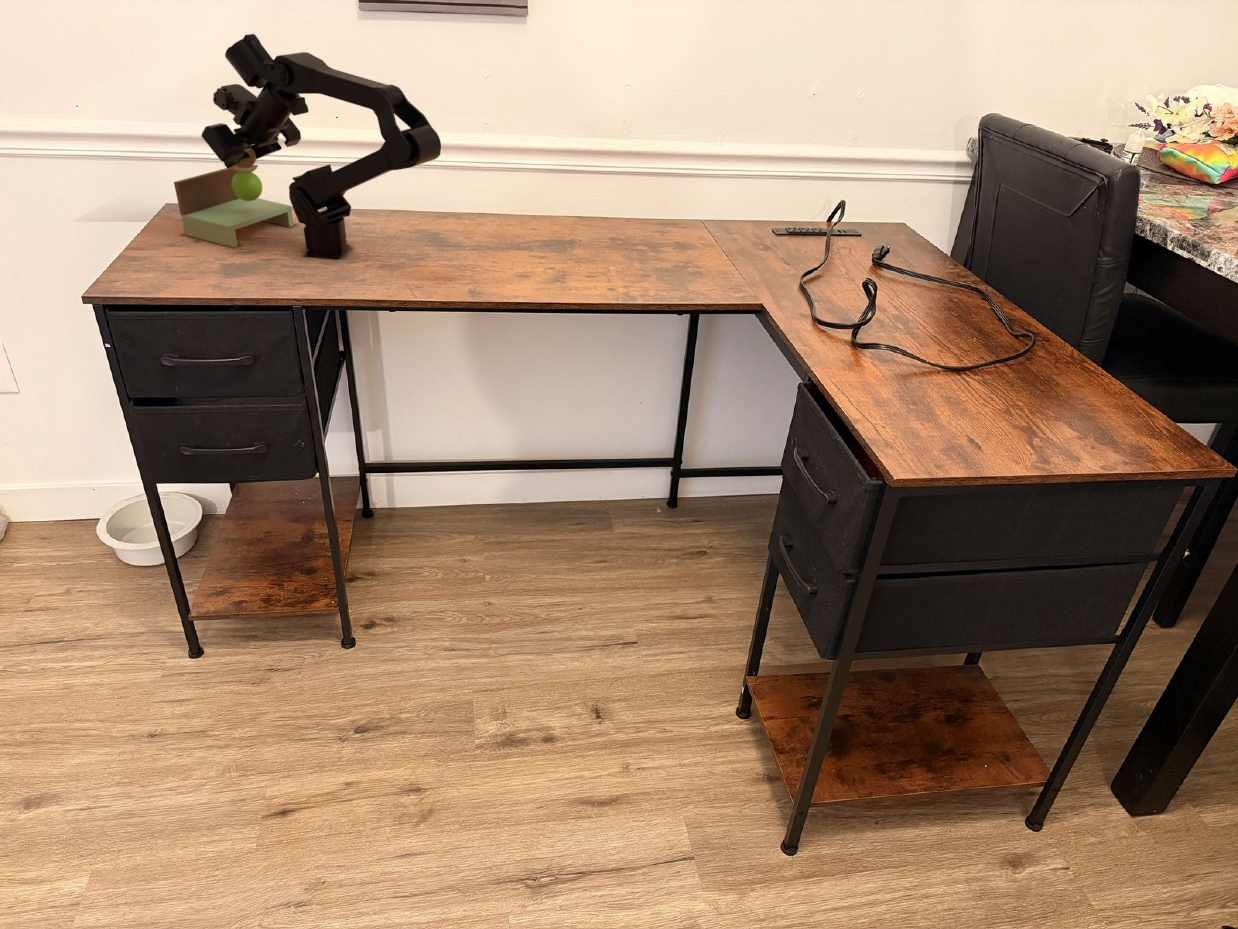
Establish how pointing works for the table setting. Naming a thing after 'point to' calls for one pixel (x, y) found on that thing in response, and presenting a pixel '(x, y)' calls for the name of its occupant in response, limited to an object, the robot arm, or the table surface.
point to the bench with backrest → (222, 208)
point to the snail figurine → (246, 179)
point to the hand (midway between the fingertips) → (234, 163)
